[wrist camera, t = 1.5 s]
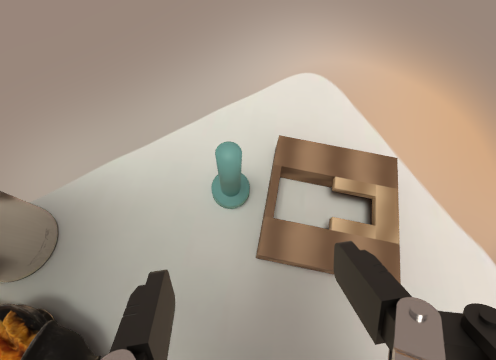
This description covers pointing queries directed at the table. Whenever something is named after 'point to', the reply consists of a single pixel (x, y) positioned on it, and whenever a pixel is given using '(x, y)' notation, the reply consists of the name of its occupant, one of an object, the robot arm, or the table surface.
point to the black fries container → (38, 336)
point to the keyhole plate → (340, 230)
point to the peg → (230, 177)
